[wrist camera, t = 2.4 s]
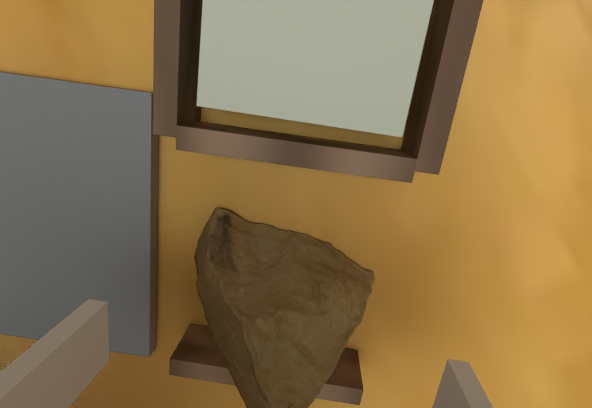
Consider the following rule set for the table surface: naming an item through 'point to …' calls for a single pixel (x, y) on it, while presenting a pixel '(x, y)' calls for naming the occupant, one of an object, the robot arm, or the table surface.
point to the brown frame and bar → (305, 143)
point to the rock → (277, 307)
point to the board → (78, 207)
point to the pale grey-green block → (313, 60)
